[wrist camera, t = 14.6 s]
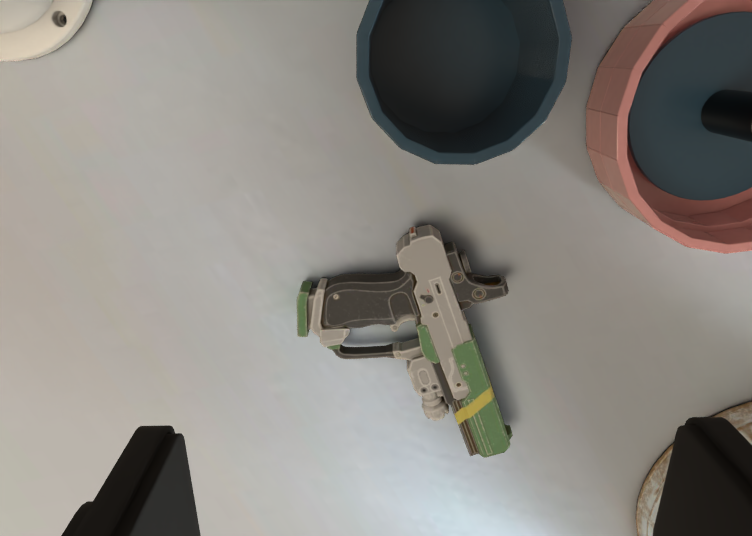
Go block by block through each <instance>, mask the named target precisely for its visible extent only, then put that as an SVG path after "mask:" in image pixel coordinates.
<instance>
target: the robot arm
mask: <svg viewBox="0 0 752 536" xmlns="http://www.w3.org/2000/svg"><path fill="white" fill-rule="evenodd" d="M92 1H93V0H0V61H22V60H28V59H34V58H38V57H41V56H43V55H46V54H48V53H51V52H53V51H55V50H56V49H58V48H59V47H60V46H62V45H63V44H65V43H66V42H67V41H69V40H70V39H71V37H72V36H73V35H74V34H75V33H76V32H77V30H78V29H79V28H80V27H81V25H82V24H83V22H84V20H85V18H86V16H87V14H88V12H89V10H90V8H91V4H92ZM64 16H66V18H67V22H66V23H65V22H64ZM62 536H200V530H199V524H198V518H197V512H196V506H195V500H194V494H193V488H192V482H191V476H190V470H189V464H188V458H187V452H186V446H185V440H184V436H183V435H182V434H181V433H178V434H175V432H174V429H173V427H172V426H140V427H138V428H137V430H136V431H135V433H134V434H133V436H132V438H131V439H130V441H129V443H128V444H127V446H126V448H125V449H124V451H123V453H122V454H121V456H120V458H119V459H118V461H117V463H116V464H115V466H114V468H113V469H112V471H111V473H110V474H109V476H108V478H107V479H106V481H105V483H104V484H103V486H102V488H101V489H100V491H99V493H98V494H97V496H96V498H95V499H94V501H93V502H86V503H85V504H83V505H82V506H81V507H80V508H79V509H78V511H77V512H76V513H75V515H74V516H73V518H72V520H71V521H70V523H69V525H68V526H67V528H66V529H65V531H64V533H63V534H62ZM653 536H752V445H751V444H750V443H749V442H748V441H747V439H746V438H745V437H744V436H743V435H742V434H741V433H740V432H739V431H738V430H737V429H736V428H735V427H734V426H733V425H732V424H731V423H730V422H729V421H728V420H726V419H725V418H722V417H692V418H689V419H688V420H687V421H686V423H685V425H683V426H680V427H679V428H678V430H677V432H676V436H675V441H674V445H673V449H672V453H671V457H670V461H669V466H668V470H667V474H666V478H665V482H664V487H663V491H662V495H661V499H660V503H659V508H658V512H657V516H656V520H655V524H654V528H653Z"/></svg>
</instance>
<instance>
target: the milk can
mask: <svg viewBox="0 0 752 536" xmlns="http://www.w3.org/2000/svg"><path fill="white" fill-rule="evenodd" d="M713 417H722V418H725V419H726V420H728V421H729V422H730V423H731V424H732V425H733V426H734V427H735V428H736V429H737V430H738V431H739V432H740V433H741V434H742V435H743V436H744V437H745V438H746V439H747V441H748V442H749V443H750V444H751V445H752V402H749V403H746V404H743V405H740V406H737V407H734V408H731V409H728V410H725V411H723V412H721V413H719V414H717V415H715V416H713ZM673 445H674V444H673ZM673 445H671V446H670V447H669V448H668V449H667V450H666V451H665V452H664V454H663V455H662V456H661V457H660V458H659V460H658V461H657V462H656V463H655V464H654V466H653V468H652V469H651V471H650V473H649V474H648V476H647V478H646V480H645V481H644V483H643V486H642V489H641V492H640V495H639V497H638V502H637V510H636V525H637V534H638V536H653V528H654V524H655V520H656V516H657V512H658V508H659V503H660V499H661V495H662V491H663V487H664V482H665V478H666V474H667V470H668V466H669V461H670V457H671V453H672V449H673Z"/></svg>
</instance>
